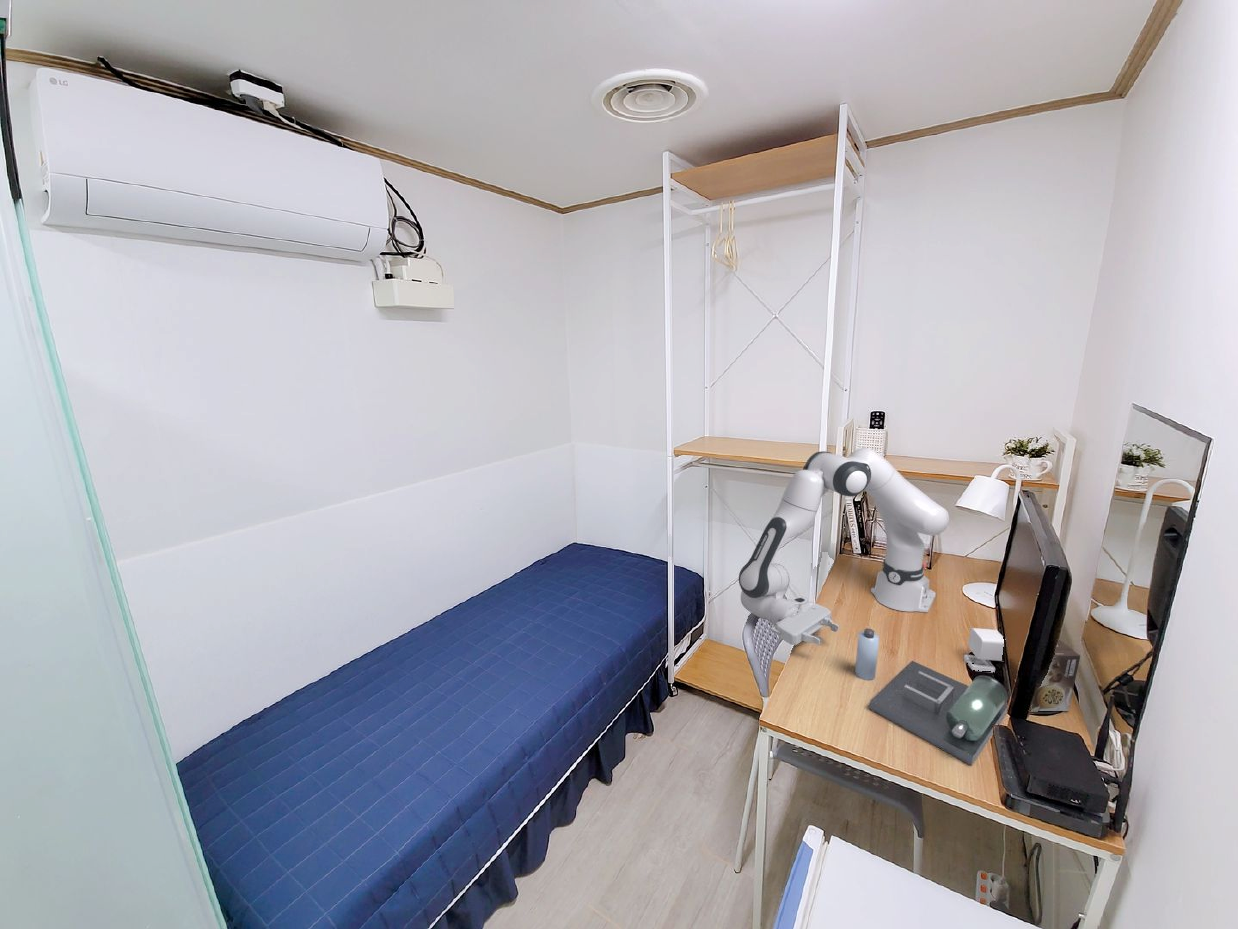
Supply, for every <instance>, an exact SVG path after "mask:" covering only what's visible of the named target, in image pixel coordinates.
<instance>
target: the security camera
mask: <svg viewBox="0 0 1238 929" xmlns="http://www.w3.org/2000/svg"><path fill="white" fill-rule="evenodd" d="M1003 637H1004V636H1003V635H1002V634H1001V633H1000V632H999V631H998V630H997V629H990V628H980V627H979V628H978V627H977V628H975V627H971V628H970V634H969V638H968V645H967V646H968V648H969V649H970V651H971V652H972V653H973V654H974V655H973V654H964V655H963V659H964V661H965V662H966V664H967V663H968V664H967V665H968V667H969V668H970V669H971V670H972V671H973V670H975V672H982V671H991V672H990V673H993V672H994V673H995V671H996V667H995V666H994V665H993V663H992V662H991V661H997V662H998V661H999V662H1003V661H1002V655H1003V647H1004V639H1003ZM972 663H974V664H972ZM978 670H979V671H978Z"/></svg>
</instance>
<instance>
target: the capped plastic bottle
mask: <svg viewBox="0 0 1238 929" xmlns="http://www.w3.org/2000/svg"><path fill="white" fill-rule="evenodd" d="M857 637H858V638H857V646H856V657H855V669H854V675H856V676H857V677H858V678H859V679H861V680H865V681H873V680H874V679H875V678H876V672H877V663H878V652H879V645H880V636H879V635H878V634H877V633H875V630H873V628H872V629H871V628H864V630H860V631H858V635H857Z"/></svg>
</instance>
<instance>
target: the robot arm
mask: <svg viewBox="0 0 1238 929" xmlns="http://www.w3.org/2000/svg"><path fill="white" fill-rule="evenodd" d="M829 490H830V491H831V492H835V493H837V494H839V495H841V496H845V497H856V496H858V495H860V494H861V493H863V492H864V491H865V492H866V493H867V494H868V495H869V496H870V497H871V498H872V499H873V500H874V507H875V509H876V510H877V512H878V513H879V515H880V517H881V520H882V522H883V523H882V524H883V526H884V531H885V538H886V544H885V546H886V547H885V556H884V559H883V563H882V569H881V570H880V571H878V573H877V576H876V581H875V586H873V587H871V588H870V592H871V593H872V594H873V595H874V597H875V599H876V601H877V602H879V603H880V604H881V605H883V606H885V607H887V608H889V609H893V610H897V611H901V612H909V613H910V612H912V613H913V612H920V613H929V612H930V609H931V607H932V605H933V603H934V601H935V599H936V596H937V593H936V592H935V591H933V590H932V589H931V588H930V582H931V581H930V579H929V578H928V577H927V576H925V575H924V573H925V570H924V569H926V567H927V563H926V562H924V556H925V555H924V554H925V543H924V541H923V540H922V538H921V537H920V535H919V534H923V535H927V536H938V535H940V534H942V533H943V532H944V531H945V530H946V529H947V527H948V526H949V523H950V513H949V512H948V510H947V509H946V508H944V507H943V506H941V505H940V504H939V503H937V502H935V501H934V500H933V499H932V498H930V497H929V496H928V495H927V494H926V493H924V492H923V491H922V490H920V489H919V488H918V487H916V486H915V485H914V484H912V483H911V482H909V481H908V479H906V478H905V477H904V476H903V475H902V474H901V473H900V472H899V471H898V470H897V469H896V468H895V467H894V466H893V465H892V464H891V462H889V461H888V459H886V458H885V457H884V456H882V455H881V454H879V453H878V452H877V451H875V450H873V449H872V448H868V447H861V448H858V449H856V450H854V451H853V452H851V454H849V456H848V457H846V456H844V455H841V454H840V455H839V454H835V453H832V452H830V451H823V450H822V451H816V452H815V453H813V454H812V455H811V456H810V457H809V458H808V459H807V460H806V462H805V464H804V466H803V467H802V469H800V470H798V471H796V472H795V473H794V474H793V476H792V477H791V478H790V480H789V482H788V484H787V486H786V488H785V490H784V493H783V495H782V497H781V499H780V502H779V505H778V507H777V509H776V510H775V513H774V514H773V516H772V518H771V519H770V521H769V522H768V524H767V525H766V526H765V528H764V530H763V532H762V534H761V536H760V537H759V540H758V542H757V544H756V546H755V549H754V550H753V552H752V554H751V557H750V558H749V559H748V561H747V562H746V564H745V565H743V567H742V568H741V569H740V571H739V574H738V584H739V587H740V589H741V593H740V603H741V605H742V606H743V607H744V608H745V610H747V611H748V612H749V613H751V614H753V615H754V616H757V617H758V618H760V619H761V620H762V619H763V620H767V621H768V622H769V623H770V624H771V625H770V626H769V627H770V628H769V630H770V631H771V632H772V633H774V634H776V635H777V637H779V638H780V639H781V640H783V641H784V642H786V643H788V644H789V645H794V646H796V645H798V644H800V643H802V641H803V642H805V643H813V644H814V645H817V646H819V645H820V644H821V643H822V637H821V636H819V635H817V634H816V635H813V634H815V632H817V631H818V630H820V629H821V628H823V627H824V626H825V627H829V628H830V631H831V632H834V633H836V632H838V631H839V629H840V626H839V624H837V623H835V622H834V621H833V620H832V619H831V618H832V612H831V610H830V609H829V608H827V607H825V606H823V605H821V604H818V603H815V602H814V601H813V602H812V601H808V599H807V598H805V597H803V596H802V597H798V598H789V599H786V598H784V597H785V595H786V593H787V590H788V588H789V585H790V574H789V572H788V570H787V569H786V568H785V566H783V565H781V564H780V563H773V562H774V560H775V557H776V556H777V554H778V551H779V550H780V548H781V547H782V546H783V544H784V543H785V542H786V541H788V540H790V539H791V538H793V537H794V536H797V535H799V534H802V533H803V532H806V531H807V530H808V529H809V528H810V527H811V525H812V523H813V522H814V520H815V517H817V512H818V510H819V507H820V505H821V501H822V498H823V496H825V494H826V493H828V491H829Z"/></svg>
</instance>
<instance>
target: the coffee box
mask: <svg viewBox="0 0 1238 929" xmlns="http://www.w3.org/2000/svg"><path fill="white" fill-rule="evenodd" d="M1057 640H1058V644H1057V646H1056V649H1055V655H1054V657H1053V659H1052V662H1051V665H1050V667H1049V670H1048V673H1047V675H1046V676H1045V678H1044V680H1043V681H1042V684H1041V686H1040V687H1039V688H1038V689H1037V692H1036V696H1035V699H1034V701H1033V704H1032V705H1031V711H1029V712H1031V713H1039V712H1038V711H1066V710H1068V711H1069V710H1070V706H1071V705H1070V704H1071V700H1072V696H1073V691H1074V687H1075V682H1076V677H1077V674H1078V669H1079V664H1080V659H1081V655H1080V654H1079V653H1078V652H1076V651H1075V650H1074V649H1072V648H1071V647H1070V646H1069V645H1068V644H1066V643H1065V642H1063V641H1062V640H1060V639H1057Z"/></svg>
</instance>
